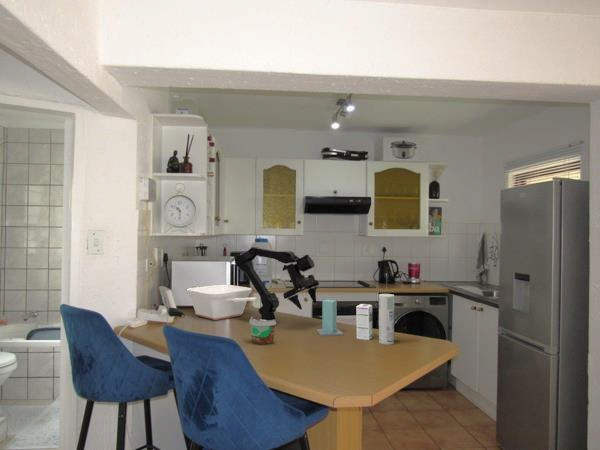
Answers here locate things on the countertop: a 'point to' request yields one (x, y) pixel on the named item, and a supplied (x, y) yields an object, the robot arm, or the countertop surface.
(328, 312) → the block
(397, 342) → the countertop surface
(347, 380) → the countertop surface
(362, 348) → the countertop surface
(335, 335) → the coaster
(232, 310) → the pot
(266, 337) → the food container
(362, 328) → the syrup box
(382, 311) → the spray can
